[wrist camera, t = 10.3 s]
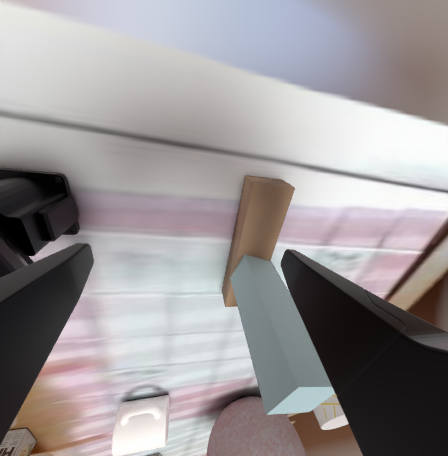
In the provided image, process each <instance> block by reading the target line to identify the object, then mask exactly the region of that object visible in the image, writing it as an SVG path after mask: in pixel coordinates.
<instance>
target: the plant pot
mask: <svg viewBox="0 0 448 456" xmlns="http://www.w3.org/2000/svg"><path fill="white" fill-rule="evenodd" d="M207 456H306V453H305V450H304V448H303V445H302V443H301V440H300V438H299V436H298V435H297V432H296V430H295V428H294V427H293V425H292V423H291V422H290V421H289V419H288V417H287V416H286V415H285V414H272V415H266V412H265V408H264V405H263V401H262V398H261V397H254V396H251V397H244V398H240V399H238V400H236V401H234V402H232V403H231V404H229V405H228V406H227V407H226V408H225V409H224V410H223V411H222V412H221V414H220V415H219V417H218V418H217V420H216V421H215V423H214V426H213V428H212V431H211V434H210V438H209V442H208V449H207Z"/></svg>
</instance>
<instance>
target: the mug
mask: <svg viewBox="0 0 448 456" xmlns="http://www.w3.org/2000/svg"><path fill="white" fill-rule="evenodd" d="M168 423H169V395H164V396H158V397H152V398H146V399H139V400H133V401H127V402H123V403H122V404H121V406H120V408H119V411H118V414H117V417H116V421H115V426H114V431H113V437H112V456H122V455H126V454H131V453H136V452H141V451H145V450H150V449H155V448H160V447H164V446H166V444H167V436H168Z"/></svg>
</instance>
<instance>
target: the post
mask: <svg viewBox="0 0 448 456" xmlns="http://www.w3.org/2000/svg"><path fill="white" fill-rule="evenodd" d="M230 279H231V283H232V287H233V291H234V294H235V298H236V302H237V306H238V310H239V313H240V317H241V321H242V325H243V329H244V332H245V336H246V340H247V344H248V348H249V351H250V355H251V359H252V363H253V367H254V370H255V374H256V378H257V382H258V386H259V389H260V393H261V397H262V401H263V405H264V408H265V412H266V415H272V414H286V413H300V412H310V411H311V410H313V409H314V408H316V407H317V406H318V405H320V404H321V403H322V402H324V401H325V400H327V399H328V398H329V397H331V396H332V395H333V394H335V392H334V390H333V387H332V385H331V383H330V381H329V379H328V376H327V374H326V372H325V370H324V367H323V365H322V363H321V361H320V359H319V356H318V354H317V352H316V350H315V347H314V345H313V343H312V341H311V339H310V336H309V334H308V332H307V330H306V328H305V325H304V323H303V321H302V319H301V316H300V314H299V312H298V310H297V308H296V305H295V303H294V301H293V299H292V296H291V294H290V293H289V291H288V289H287V288H286V286H285V284H284V282H283V281H282V279H281V277H280V276H279V274H278V272H277V270H276V269H275V267H274V265H273V264H272V262H271V261H268V260H264V259H260V258H256V257H252V256H249V255H245V254H244V255H243V257H242V258H241V260H240V262H239V264H238V265H237V267H236V269H235V271H234V272H233V274H232V276H231V278H230Z"/></svg>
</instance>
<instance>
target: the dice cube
mask: <svg viewBox="0 0 448 456" xmlns="http://www.w3.org/2000/svg"><path fill="white" fill-rule="evenodd" d="M147 456H162V455H161V454H160V453H159V452H158V453H154V454H150V455H147Z"/></svg>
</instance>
